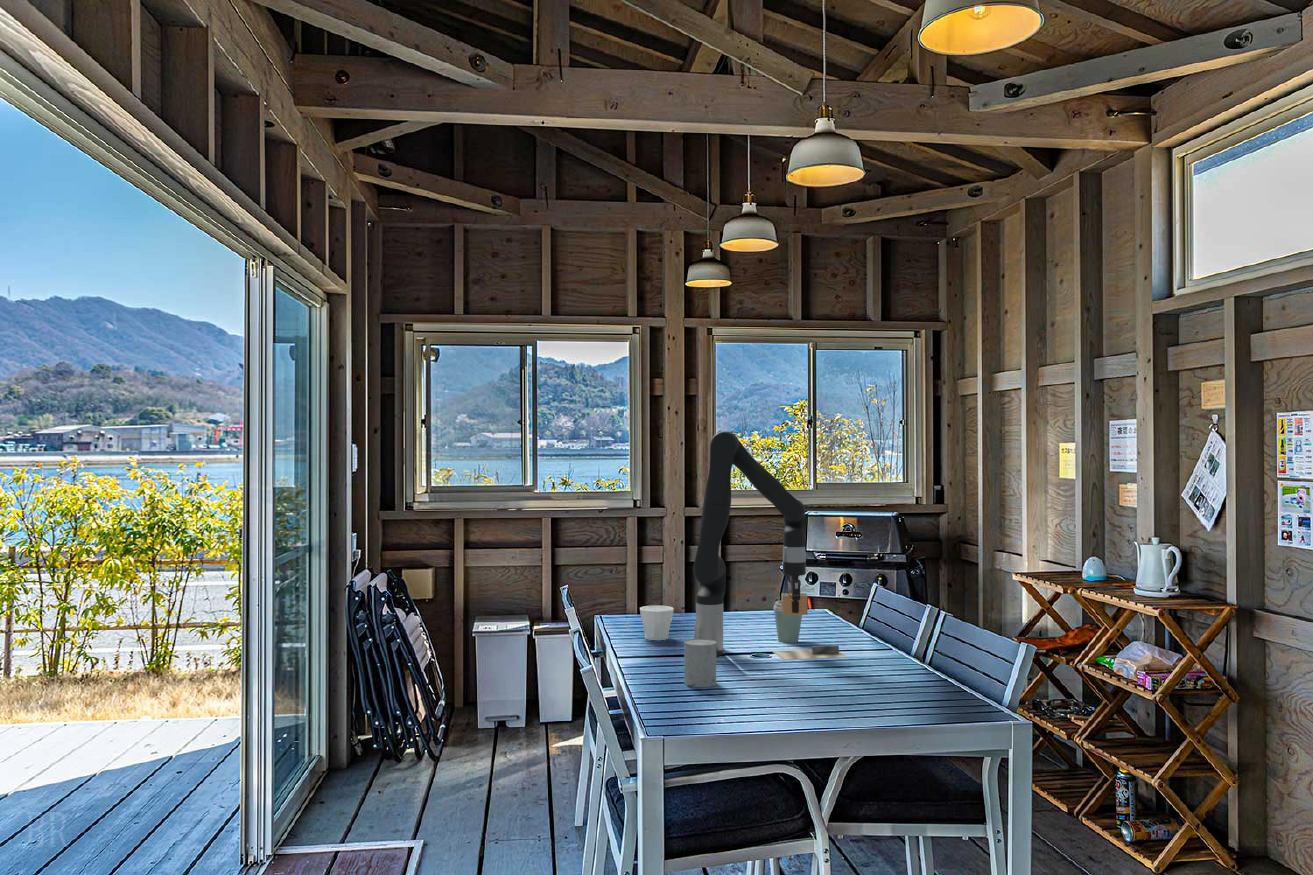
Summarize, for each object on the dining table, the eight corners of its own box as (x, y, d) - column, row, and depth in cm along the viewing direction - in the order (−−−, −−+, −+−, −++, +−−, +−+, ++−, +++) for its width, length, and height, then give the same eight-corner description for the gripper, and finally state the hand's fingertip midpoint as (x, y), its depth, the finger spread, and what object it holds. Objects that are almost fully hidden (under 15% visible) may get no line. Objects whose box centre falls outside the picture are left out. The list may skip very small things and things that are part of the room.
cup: (680, 637, 345) (680, 607, 345) (661, 643, 334) (662, 612, 334) (651, 633, 351) (651, 604, 351) (632, 639, 341) (632, 609, 341)
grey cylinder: (694, 689, 272) (694, 646, 272) (678, 681, 280) (678, 640, 280) (722, 685, 276) (722, 643, 276) (705, 678, 284) (706, 637, 285)
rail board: (783, 663, 303) (783, 651, 303) (771, 655, 315) (772, 643, 315) (847, 661, 307) (847, 649, 307) (834, 653, 319) (834, 641, 319)
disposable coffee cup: (802, 642, 338) (802, 600, 338) (804, 648, 327) (804, 605, 327) (772, 641, 339) (772, 599, 339) (773, 647, 328) (773, 604, 328)
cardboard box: (805, 611, 314) (805, 593, 314) (807, 614, 308) (807, 596, 308) (781, 611, 314) (781, 593, 314) (782, 614, 308) (782, 596, 308)
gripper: (808, 562, 304) (808, 615, 304) (803, 557, 318) (803, 607, 318) (784, 562, 304) (785, 614, 304) (780, 557, 319) (781, 607, 319)
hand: (794, 610), depth 311 cm, fingers closed on cardboard box, 6 cm apart
